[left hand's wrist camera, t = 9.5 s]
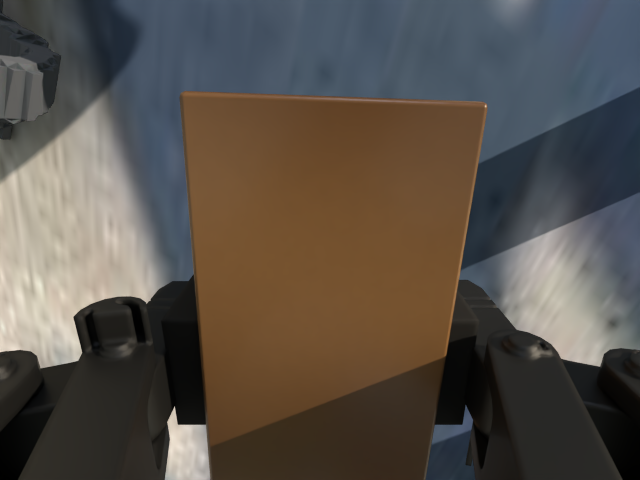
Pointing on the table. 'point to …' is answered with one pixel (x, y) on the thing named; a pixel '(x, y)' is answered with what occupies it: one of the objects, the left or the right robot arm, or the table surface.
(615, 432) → the left robot arm
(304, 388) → the beam
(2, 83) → the toy
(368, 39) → the table surface
